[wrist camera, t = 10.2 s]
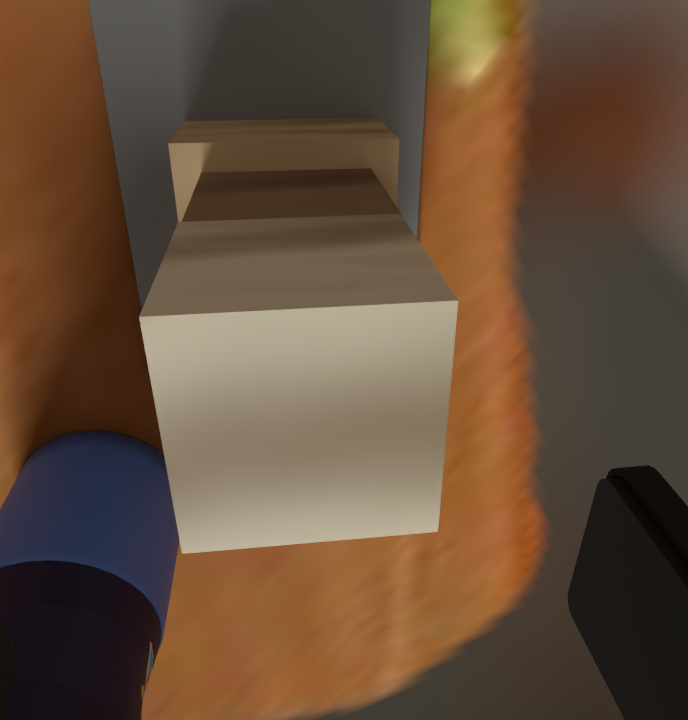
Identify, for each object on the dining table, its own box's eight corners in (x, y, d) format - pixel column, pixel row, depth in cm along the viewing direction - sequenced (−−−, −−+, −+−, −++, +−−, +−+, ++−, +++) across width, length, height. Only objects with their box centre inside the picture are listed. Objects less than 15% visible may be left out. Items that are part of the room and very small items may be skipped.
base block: (184, 121, 26) (167, 143, 21) (377, 117, 27) (399, 138, 22) (205, 300, 30) (195, 350, 25) (373, 293, 30) (391, 340, 26)
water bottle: (220, 481, 36) (153, 1202, 14) (131, 577, 39) (-39, 1301, 17) (70, 398, 32) (-331, 1198, 11) (-17, 511, 35) (-472, 1324, 13)
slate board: (89, -21, 24) (84, -22, 23) (427, -20, 25) (431, -21, 24) (158, 386, 32) (155, 394, 32) (405, 372, 34) (408, 380, 33)
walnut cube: (201, 172, 22) (181, 222, 17) (370, 168, 23) (402, 215, 17) (218, 326, 25) (205, 410, 20) (367, 319, 25) (394, 399, 20)
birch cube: (178, 222, 17) (138, 316, 12) (399, 213, 17) (458, 300, 12) (204, 410, 20) (181, 553, 14) (393, 397, 20) (437, 532, 15)
